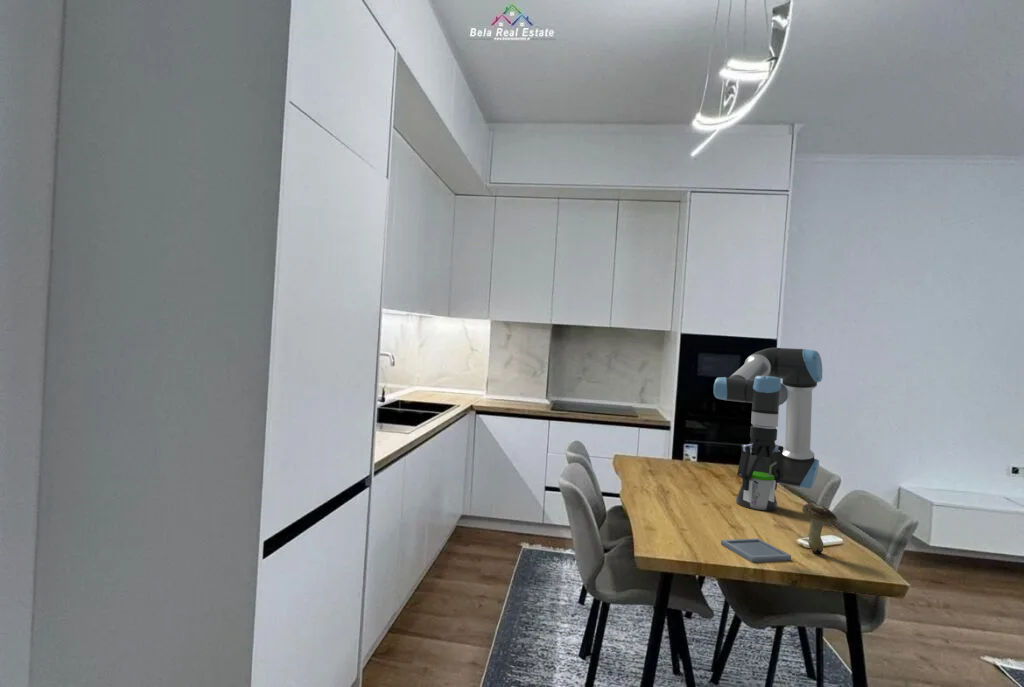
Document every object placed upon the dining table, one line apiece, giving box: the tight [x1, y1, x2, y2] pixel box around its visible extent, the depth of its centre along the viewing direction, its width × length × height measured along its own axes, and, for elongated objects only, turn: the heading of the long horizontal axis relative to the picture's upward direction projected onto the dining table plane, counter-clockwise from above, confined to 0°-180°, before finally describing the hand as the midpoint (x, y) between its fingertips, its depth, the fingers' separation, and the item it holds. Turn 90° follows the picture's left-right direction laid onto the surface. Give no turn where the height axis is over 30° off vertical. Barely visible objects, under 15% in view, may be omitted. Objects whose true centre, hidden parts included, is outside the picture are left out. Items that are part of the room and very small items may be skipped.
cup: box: [750, 462, 777, 511], centre depth 172 cm, size 8×8×15 cm
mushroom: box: [801, 502, 838, 555], centre depth 175 cm, size 9×9×15 cm
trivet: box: [720, 538, 792, 563], centre depth 172 cm, size 14×14×1 cm
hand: (758, 500), depth 172 cm, fingers closed on cup, 8 cm apart
